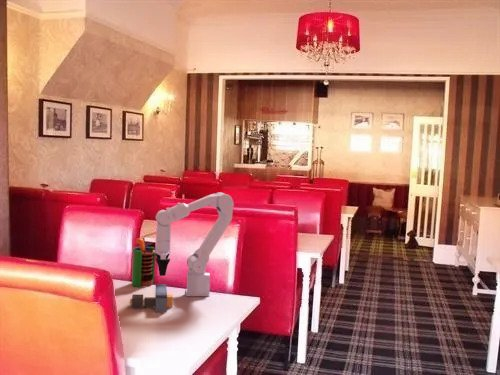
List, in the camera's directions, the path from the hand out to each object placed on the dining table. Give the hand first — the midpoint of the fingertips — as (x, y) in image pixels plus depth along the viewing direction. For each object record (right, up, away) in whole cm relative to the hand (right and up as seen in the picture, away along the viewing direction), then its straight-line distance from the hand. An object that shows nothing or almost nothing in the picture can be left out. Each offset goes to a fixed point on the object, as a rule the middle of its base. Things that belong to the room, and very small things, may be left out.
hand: (162, 273), depth 195 cm
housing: (+2, -11, -12) cm, 16 cm away
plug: (-2, -10, -13) cm, 17 cm away
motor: (-12, -8, +16) cm, 21 cm away
